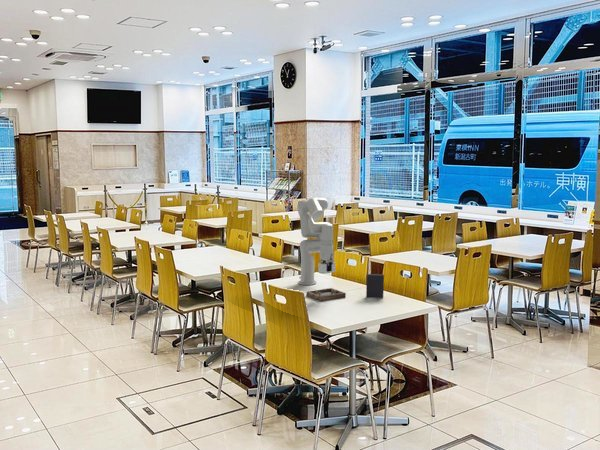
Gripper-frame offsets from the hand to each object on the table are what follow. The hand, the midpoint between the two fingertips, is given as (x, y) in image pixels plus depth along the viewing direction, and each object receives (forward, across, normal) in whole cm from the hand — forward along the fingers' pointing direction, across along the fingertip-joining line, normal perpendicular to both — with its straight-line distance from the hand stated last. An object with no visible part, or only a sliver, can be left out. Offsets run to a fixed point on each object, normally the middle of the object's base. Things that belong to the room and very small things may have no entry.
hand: (326, 270), depth 378 cm
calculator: (+18, +17, +26) cm, 36 cm away
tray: (+18, 0, -1) cm, 18 cm away
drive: (+1, 0, 0) cm, 1 cm away
